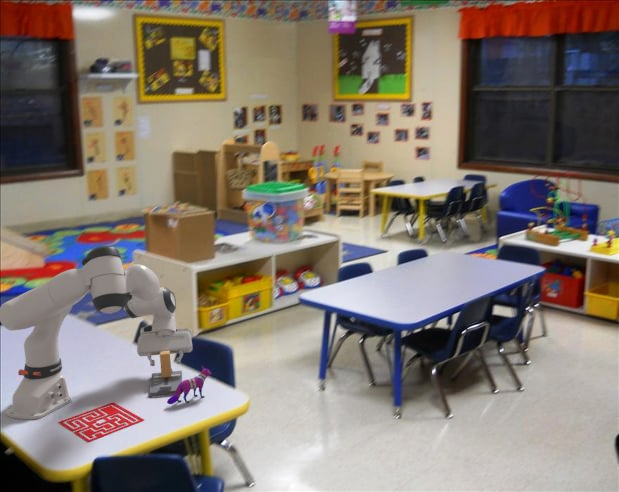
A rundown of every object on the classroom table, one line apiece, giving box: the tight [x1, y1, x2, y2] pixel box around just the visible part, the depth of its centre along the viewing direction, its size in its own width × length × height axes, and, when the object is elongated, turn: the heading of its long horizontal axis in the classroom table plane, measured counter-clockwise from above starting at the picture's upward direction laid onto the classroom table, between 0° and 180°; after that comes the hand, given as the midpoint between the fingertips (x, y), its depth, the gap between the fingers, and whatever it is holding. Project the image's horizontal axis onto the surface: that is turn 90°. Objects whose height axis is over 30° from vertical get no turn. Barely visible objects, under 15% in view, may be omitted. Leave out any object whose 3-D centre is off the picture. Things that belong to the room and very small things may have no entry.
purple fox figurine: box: [166, 365, 213, 405], centre depth 250 cm, size 4×18×10 cm, turn 130°
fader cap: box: [159, 350, 172, 378], centre depth 267 cm, size 4×4×9 cm
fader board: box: [149, 367, 183, 398], centre depth 264 cm, size 18×11×3 cm, turn 9°
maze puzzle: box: [58, 401, 145, 443], centre depth 237 cm, size 20×20×1 cm
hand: (165, 364), depth 267 cm, fingers open, 8 cm apart
